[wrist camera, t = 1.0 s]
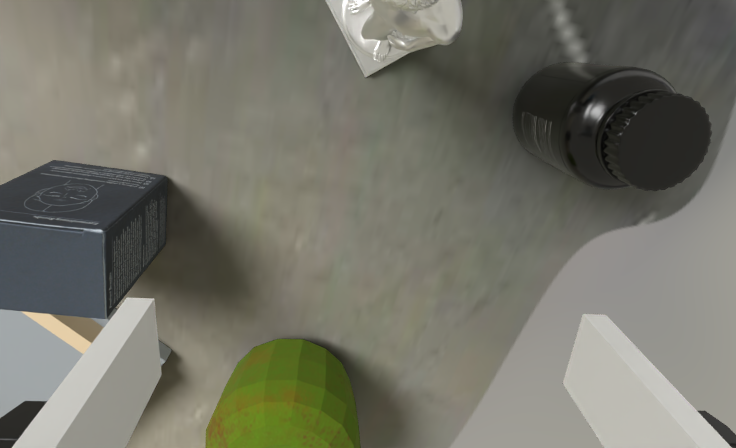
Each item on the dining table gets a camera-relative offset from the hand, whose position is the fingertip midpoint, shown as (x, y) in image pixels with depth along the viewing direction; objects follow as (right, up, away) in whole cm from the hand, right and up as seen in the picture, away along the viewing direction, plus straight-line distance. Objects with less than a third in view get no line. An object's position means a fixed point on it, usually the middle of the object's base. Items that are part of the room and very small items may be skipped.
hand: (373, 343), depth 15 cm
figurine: (0, +18, +16) cm, 24 cm away
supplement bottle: (+13, +12, +20) cm, 27 cm away
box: (-19, +5, +20) cm, 28 cm away
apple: (-7, -10, +27) cm, 29 cm away
